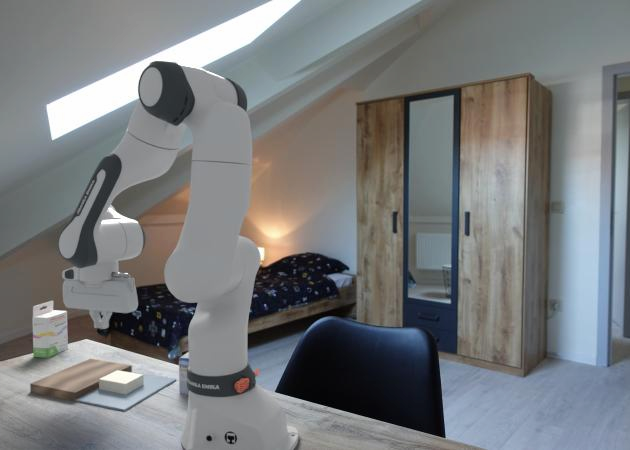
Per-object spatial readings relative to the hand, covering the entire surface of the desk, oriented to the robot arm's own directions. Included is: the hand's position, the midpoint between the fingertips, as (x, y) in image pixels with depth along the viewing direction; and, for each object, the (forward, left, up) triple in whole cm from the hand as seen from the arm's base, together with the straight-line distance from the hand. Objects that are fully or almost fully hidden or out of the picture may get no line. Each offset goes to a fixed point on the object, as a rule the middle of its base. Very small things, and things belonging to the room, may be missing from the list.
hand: (101, 327), depth 116 cm
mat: (-8, 0, -14) cm, 16 cm away
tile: (-5, 0, -14) cm, 15 cm away
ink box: (+32, -13, -15) cm, 38 cm away
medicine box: (-22, -7, -15) cm, 27 cm away
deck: (+6, 0, -14) cm, 16 cm away
